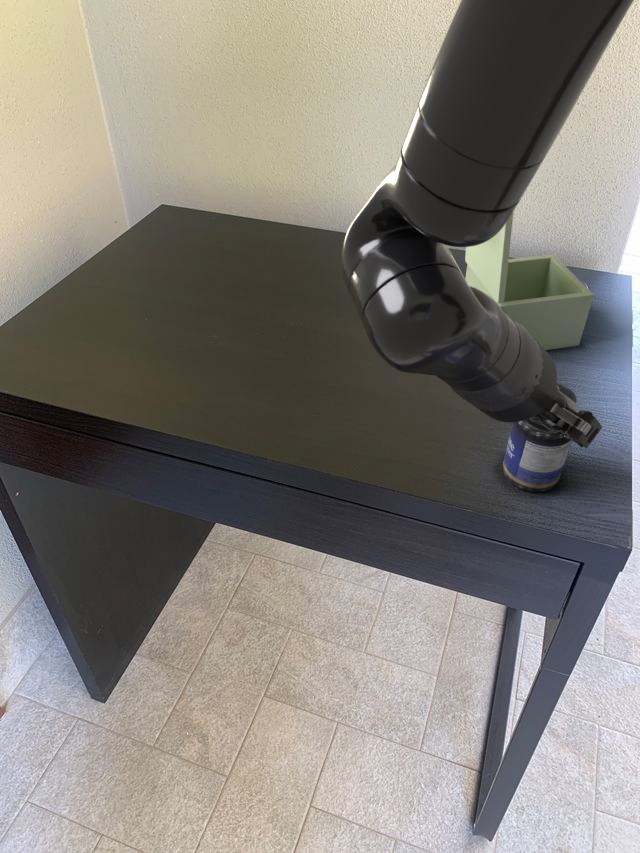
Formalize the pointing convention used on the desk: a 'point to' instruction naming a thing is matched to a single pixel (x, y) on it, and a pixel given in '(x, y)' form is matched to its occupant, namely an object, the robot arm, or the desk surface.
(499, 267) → the green box lid
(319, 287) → the desk surface
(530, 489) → the pill bottle
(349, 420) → the desk surface
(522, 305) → the pale green open box
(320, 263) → the desk surface
